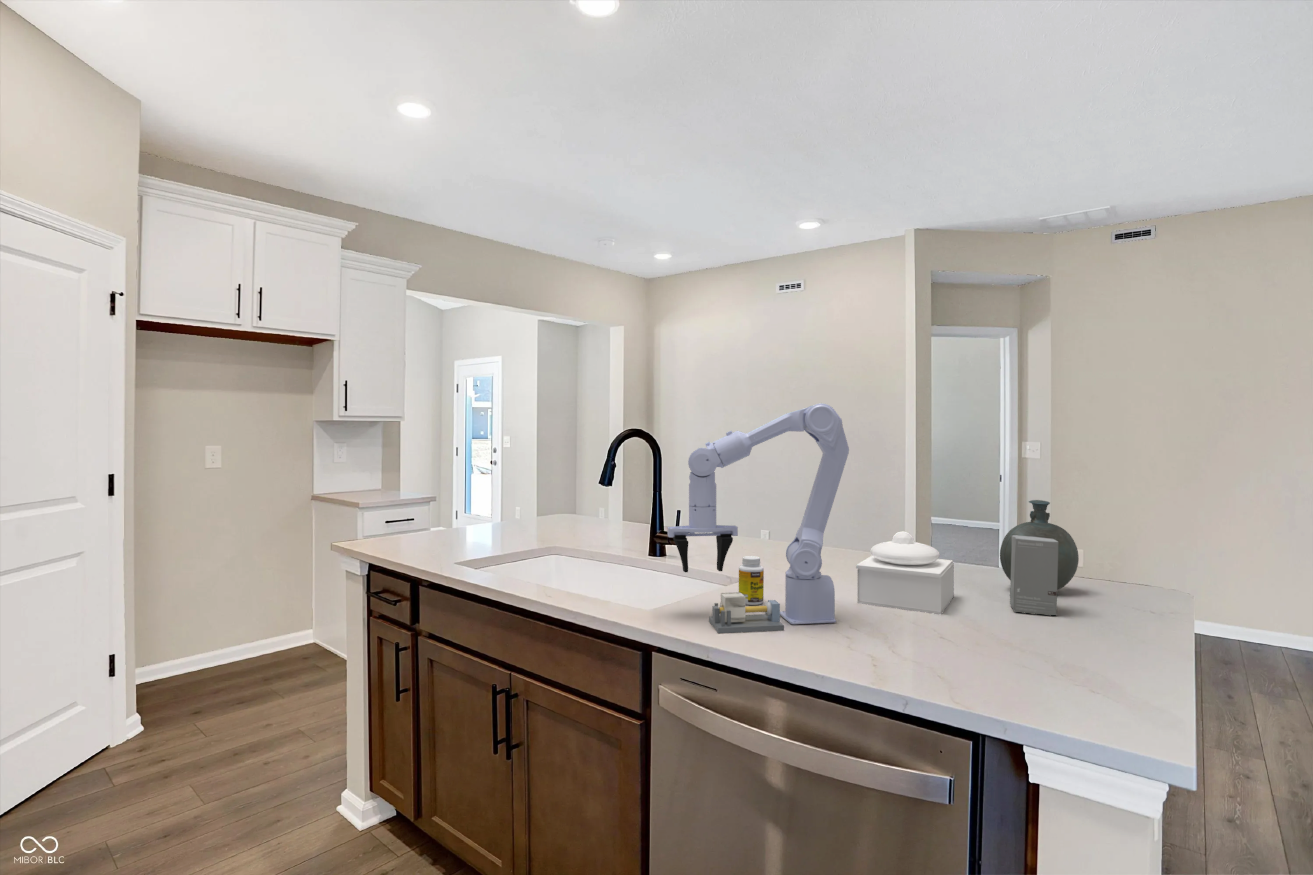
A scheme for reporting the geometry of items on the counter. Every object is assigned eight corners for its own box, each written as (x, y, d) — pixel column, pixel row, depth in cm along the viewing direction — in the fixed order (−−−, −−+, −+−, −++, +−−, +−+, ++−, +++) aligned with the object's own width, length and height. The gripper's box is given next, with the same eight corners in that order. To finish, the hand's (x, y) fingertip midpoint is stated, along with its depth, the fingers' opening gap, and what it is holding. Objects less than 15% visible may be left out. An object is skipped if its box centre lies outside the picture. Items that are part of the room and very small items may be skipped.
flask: (1085, 601, 148) (1086, 504, 148) (1001, 594, 154) (1001, 501, 154) (1075, 589, 159) (1075, 499, 159) (996, 583, 165) (996, 496, 165)
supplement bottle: (750, 607, 143) (750, 560, 143) (733, 601, 148) (733, 556, 148) (768, 603, 146) (768, 557, 146) (752, 598, 151) (752, 554, 151)
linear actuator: (771, 618, 134) (771, 596, 134) (784, 630, 126) (784, 607, 126) (709, 621, 132) (709, 599, 132) (718, 633, 124) (718, 609, 124)
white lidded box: (953, 597, 152) (954, 529, 152) (940, 616, 137) (940, 540, 137) (876, 588, 161) (876, 524, 161) (856, 604, 146) (856, 533, 146)
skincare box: (1013, 613, 138) (1013, 538, 138) (1009, 605, 145) (1009, 533, 145) (1059, 617, 135) (1059, 540, 135) (1053, 608, 142) (1053, 535, 142)
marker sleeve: (740, 616, 131) (740, 592, 131) (745, 621, 127) (745, 596, 127) (720, 616, 130) (720, 592, 130) (725, 622, 127) (725, 597, 127)
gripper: (731, 503, 141) (731, 565, 141) (665, 504, 139) (665, 567, 139) (740, 506, 134) (740, 572, 134) (670, 507, 132) (670, 575, 132)
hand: (702, 570), depth 136 cm, fingers open, 7 cm apart
